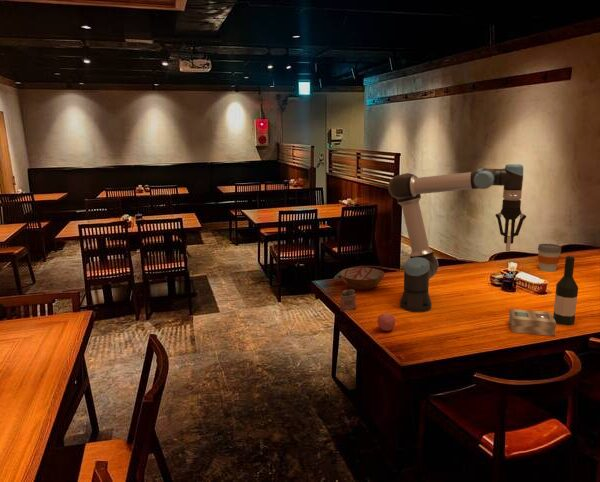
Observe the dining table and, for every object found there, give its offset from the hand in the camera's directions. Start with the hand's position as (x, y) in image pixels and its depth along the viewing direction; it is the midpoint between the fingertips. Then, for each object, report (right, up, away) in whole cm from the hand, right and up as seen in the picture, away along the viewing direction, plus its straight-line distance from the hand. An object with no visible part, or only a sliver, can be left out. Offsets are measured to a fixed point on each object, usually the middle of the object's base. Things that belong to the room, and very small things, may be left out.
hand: (507, 250), depth 213 cm
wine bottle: (+21, -32, -8) cm, 39 cm away
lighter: (-72, -29, +12) cm, 79 cm away
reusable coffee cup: (+56, -14, +71) cm, 92 cm away
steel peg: (+7, -33, -16) cm, 37 cm away
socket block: (+3, -33, -15) cm, 36 cm away
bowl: (-61, -22, +46) cm, 80 cm away
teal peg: (-1, -33, -14) cm, 35 cm away
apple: (-58, -34, -13) cm, 69 cm away
